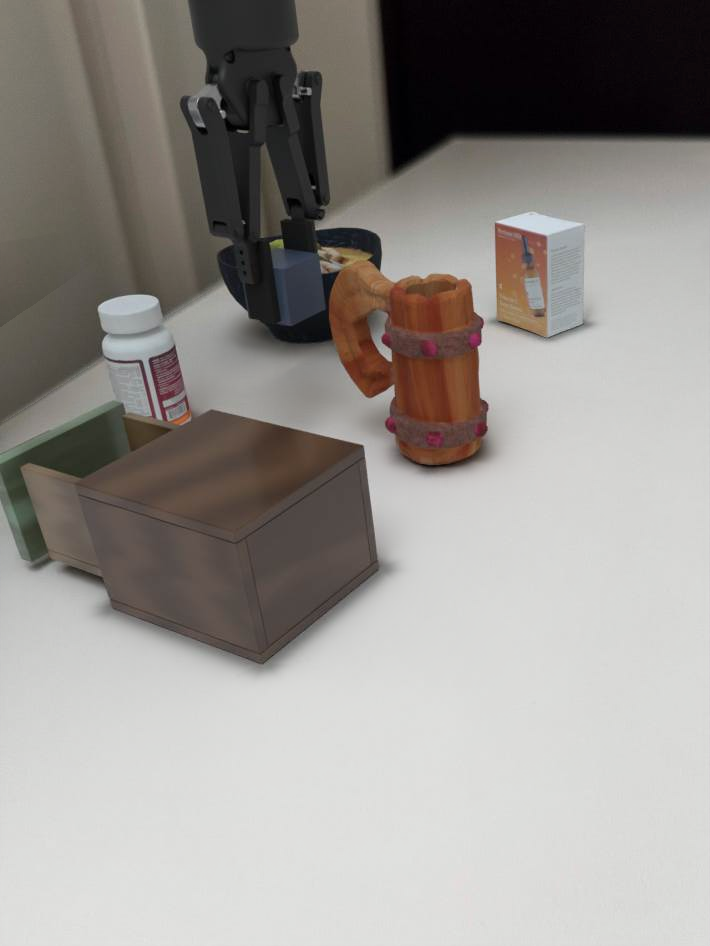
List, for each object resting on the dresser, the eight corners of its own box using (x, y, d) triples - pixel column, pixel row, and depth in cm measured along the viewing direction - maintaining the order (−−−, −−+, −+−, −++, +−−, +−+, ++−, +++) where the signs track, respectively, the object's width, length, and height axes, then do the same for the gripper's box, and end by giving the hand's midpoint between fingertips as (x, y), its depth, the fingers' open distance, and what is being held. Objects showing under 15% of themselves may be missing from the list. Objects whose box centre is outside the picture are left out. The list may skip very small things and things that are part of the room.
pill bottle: (188, 407, 100) (161, 287, 93) (196, 433, 95) (169, 308, 88) (121, 419, 98) (89, 298, 91) (126, 446, 93) (93, 320, 87)
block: (248, 318, 88) (239, 262, 85) (284, 301, 91) (275, 247, 88) (291, 326, 86) (282, 269, 83) (326, 309, 89) (319, 253, 86)
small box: (496, 321, 115) (492, 221, 109) (533, 308, 118) (531, 209, 111) (547, 338, 110) (546, 234, 103) (585, 324, 113) (586, 222, 106)
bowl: (417, 333, 113) (409, 237, 107) (268, 372, 106) (251, 271, 100) (347, 294, 125) (336, 205, 119) (210, 326, 118) (191, 234, 112)
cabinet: (111, 608, 72) (73, 482, 67) (236, 525, 81) (211, 408, 75) (262, 664, 66) (233, 531, 60) (379, 568, 75) (364, 445, 69)
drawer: (-26, 542, 79) (-62, 446, 74) (92, 478, 86) (65, 388, 82) (142, 603, 71) (113, 500, 66) (255, 527, 79) (236, 430, 74)
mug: (514, 445, 90) (508, 266, 81) (458, 485, 84) (446, 297, 75) (380, 412, 97) (362, 243, 88) (322, 446, 91) (295, 271, 83)
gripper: (190, -3, 67) (250, 352, 81) (356, -27, 79) (383, 285, 93) (107, -5, 70) (178, 337, 84) (279, -28, 82) (316, 274, 96)
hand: (286, 309), depth 88 cm, fingers closed on block, 5 cm apart
